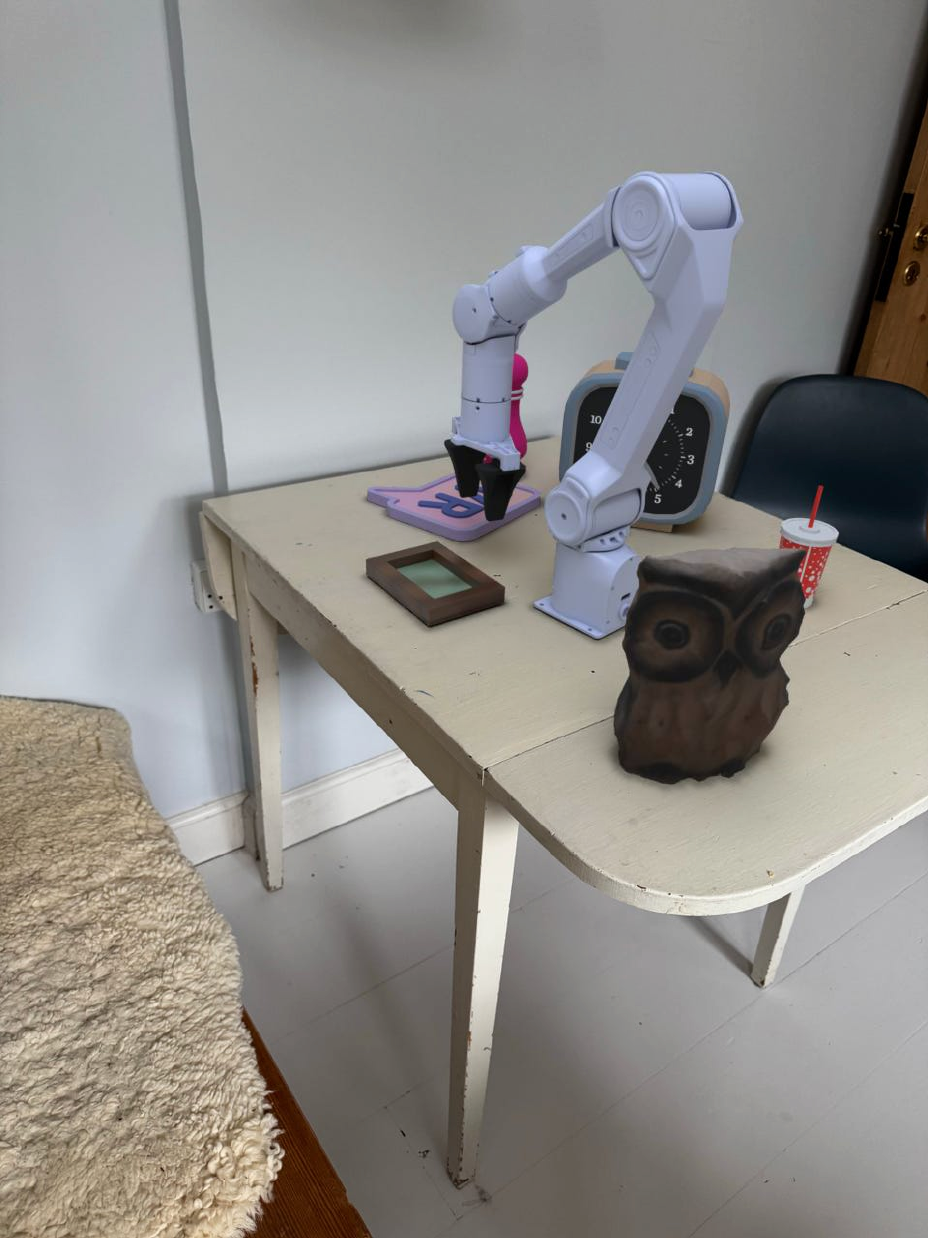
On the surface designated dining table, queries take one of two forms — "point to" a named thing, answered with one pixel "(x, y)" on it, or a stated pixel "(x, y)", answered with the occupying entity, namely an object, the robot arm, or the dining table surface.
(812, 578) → the beverage cup
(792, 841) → the dining table surface
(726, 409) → the alarm clock
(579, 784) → the dining table surface
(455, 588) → the frame
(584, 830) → the dining table surface
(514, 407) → the pepper mill
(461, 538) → the icon
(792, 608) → the owl
